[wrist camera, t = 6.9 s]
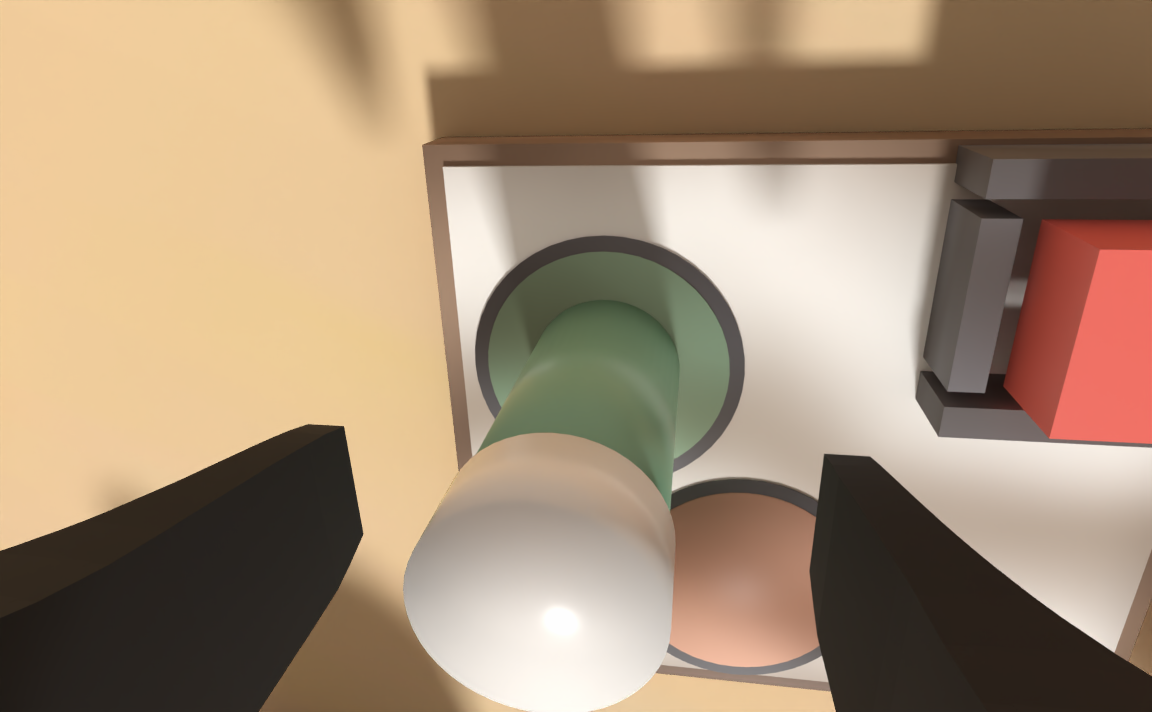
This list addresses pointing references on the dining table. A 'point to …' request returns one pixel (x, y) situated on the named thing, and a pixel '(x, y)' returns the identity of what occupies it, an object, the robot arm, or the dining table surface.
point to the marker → (561, 524)
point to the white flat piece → (809, 348)
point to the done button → (1087, 332)
